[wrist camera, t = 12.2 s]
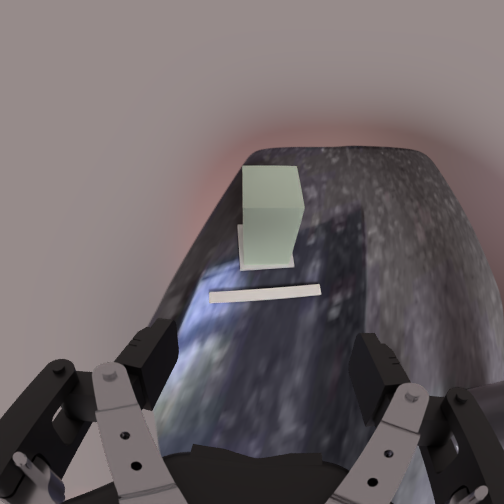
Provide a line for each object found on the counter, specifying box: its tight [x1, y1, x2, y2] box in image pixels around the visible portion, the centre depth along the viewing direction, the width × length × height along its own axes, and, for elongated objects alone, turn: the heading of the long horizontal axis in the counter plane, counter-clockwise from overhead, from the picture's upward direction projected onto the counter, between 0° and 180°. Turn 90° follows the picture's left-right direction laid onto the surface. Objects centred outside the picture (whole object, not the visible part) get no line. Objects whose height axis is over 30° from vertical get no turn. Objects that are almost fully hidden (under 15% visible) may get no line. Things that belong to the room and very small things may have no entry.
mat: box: [238, 224, 294, 271], centre depth 32 cm, size 6×6×1 cm
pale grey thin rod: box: [209, 284, 321, 303], centre depth 29 cm, size 12×1×1 cm, turn 95°
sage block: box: [242, 166, 305, 265], centre depth 27 cm, size 5×5×10 cm
